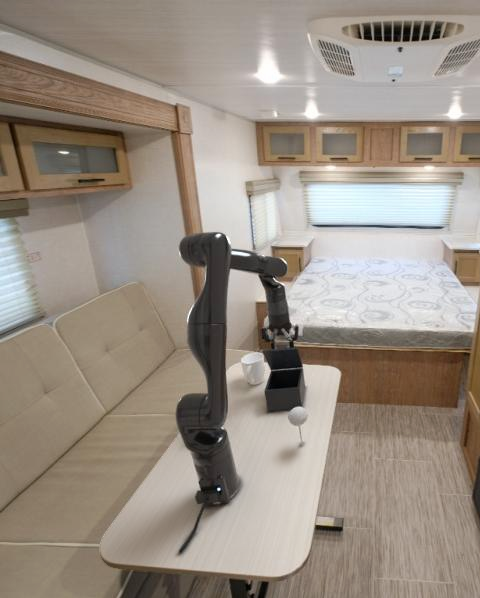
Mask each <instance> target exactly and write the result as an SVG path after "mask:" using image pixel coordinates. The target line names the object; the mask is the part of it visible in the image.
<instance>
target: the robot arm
mask: <svg viewBox="0 0 480 598" xmlns="http://www.w3.org/2000/svg"><path fill="white" fill-rule="evenodd" d="M178 252H179V256H180V258H181V259H182V261H183V262H184V263H185V264H187V265H188V266H190V267H193V268H198V269H205V277H204V278H205V279H204V283H203V285H202V289H201V291H200V293H198V295H197V298H196V299H195V301H194V302H193V304H192V306H191V308H190V310H189V312H188V314H187V317H186V339H185V340H186V345H187V347H188V349H189V351H190V353H191V354H192V356H193V358H194V359H195V360H196V363H198V365H199V367H200V368H201V370H202V372H203V374H204V378H205V382H206V392H190V393H186V394H184V395H183V396H181V398H180V399H179V400H178V402H177V404H176V407H175V423H176V427H177V430H178V432H179V434H180V438H181V439H182V442H183V444H184V446H185V447H184V448H186V450H188V451H189V452H190V455H191V459H192V462H193V466H194V469H195V472H196V476H197V479H198V487H199V489H200V490H197V491H196V493H195V495H194V498H195V502H196V505H202V506H201V508H200V511H199V513H198V515H197V517H196V520H195V523H194V526H193V529H192V530H191V532H190V534H189V536H188V537H187V539H186V540H185V542H184V543H183V544H182V545H181V547H180V548H179V550H178V552H179V553H183V551H185V550H184V549H185V548H186V547H187V545H188V544H189V543H190V541H191V540H192V539H193V537H194V535H195V533H196V532H197V528H199V527H198V526H199V523H200V520H201V517H202V516H203V513H204V511H205V509H206V507H210V506H211V507H212V506H218V505H225V504H229V503H230V501H231V499H232V498H234V497H235V496H236V495H237V493H238V492H239V490H240V487H241V480H240V478H239V475H238V471H237V466H236V463H235V457H234V455H233V451H232V447H231V442H230V439H229V438H230V437H229V434H228V431H227V429H226V428H225V427H224V425H225V424H226V420H227V418H228V414H229V392H228V382H227V381H228V380H227V342H228V341H227V339H228V297H229V295H228V294H229V282H230V275H231V270H233V271H237V272H243V273H247V274H253V275H257V276H258V278H259V281H260V283H261V285H262V287H263V290H264V293H265V301H266V305H265V306H266V313H267V320H268V325H266V326H265V325H262V327H261V329H260V331H261V334H262V337H263V339H264V342H265V343H270V349H275V346H274V344H275V343H277V342H276V337H280V336H281V337H283V336H285V337H286V339H287V340H288V342H289V345H290V346H289V348H294V347H295V341H298V338H299V330H300V329H299V328H300V325H299V323H296V324H292V323H291V318H290V310H289V309H290V308H289V304H288V300H287V292H286V286H285V284H284V283H282V282H279V281H277V280H276V279H281V278H284V277H285V276H286V275H287V273H288V271H289V265H288V263H287V262H286V261H285V260H284V259H283V258H281V257H276V256H269V255H265V254H262V253H259V252H255V251H253V250H252V251H251V250H248V249H242V248H241V249H240V248H232V244H231V241H230V239H229V237H228V236H227V235H226V233H223V232H220V231H208V232H207V231H206V232H195V233H190V234H187V235H185V236H184V237H182V239H181V240H180V241H179V244H178ZM291 329H292V330H293V332H294V335H292V332H291ZM269 331H270V332H271V333H272V336H271V337H270V335H269Z"/></svg>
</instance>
